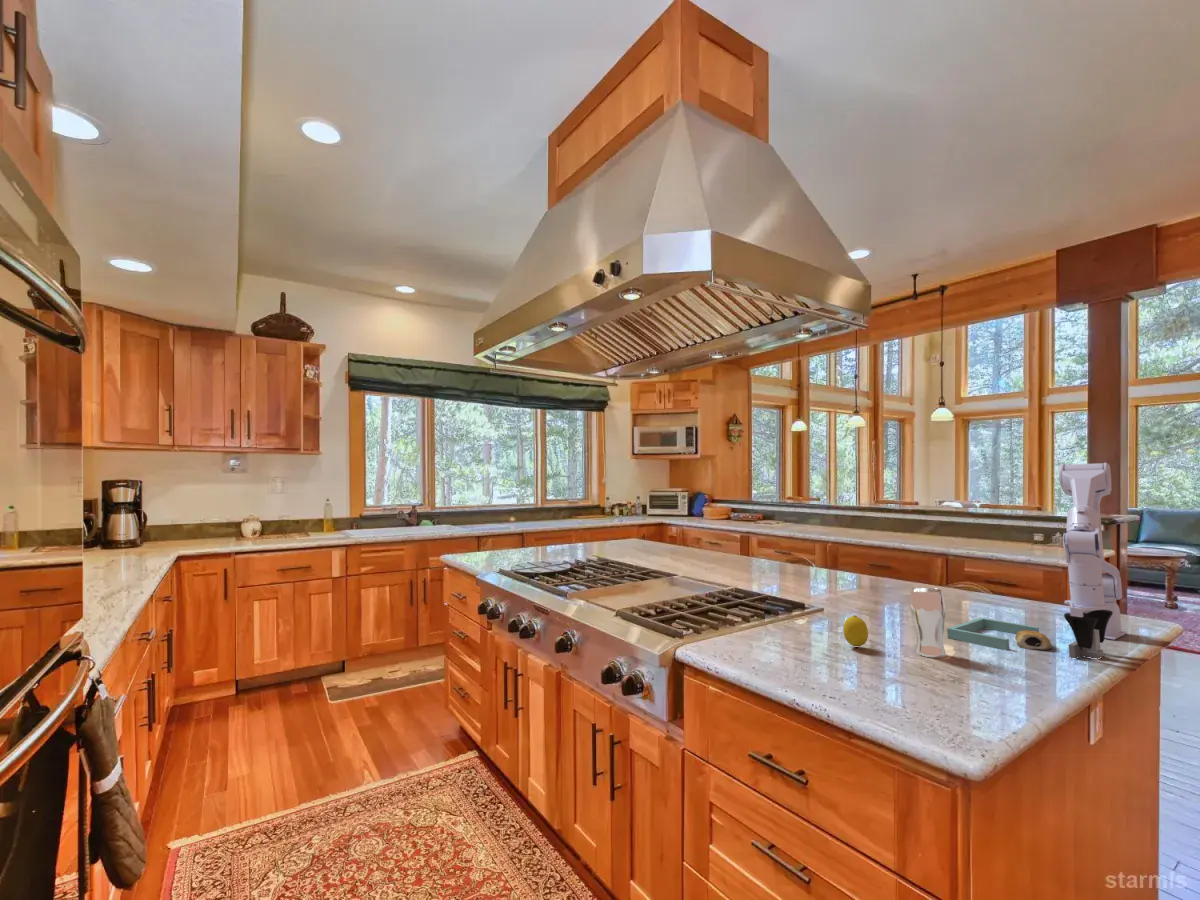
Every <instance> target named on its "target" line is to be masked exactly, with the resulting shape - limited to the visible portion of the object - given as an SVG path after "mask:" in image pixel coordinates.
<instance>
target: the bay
mask: <svg viewBox="0 0 1200 900" xmlns="http://www.w3.org/2000/svg"><path fill="white" fill-rule="evenodd" d="M982 628H983V629H987V628H988V629H987V630H992V629H993V630H994V631H999V632H1005V633H1010V634H1015V635H1016V634H1017V633H1018V632H1019V631H1024V630H1028V631H1036V632H1039V633H1040V627H1038V626H1033V625H1027V624H1022V623H1015V622H1009V621H1005V620H1003V621H1002V620H997V619H991V618H984V617H979V618H978V617H977V618H975V619H972V620H969V621H966V622H963V623H960V624H957V625H954V626H949V627H947V628H946V632H947V633H946V634H947V635H946V636H947V639H950V638H951V640H955V639H956V641H960V642H966V643H971V644H975V645H980V646H984V645H985V647H990V648H994V649H999V650H1004V651H1008V650H1010V639H1009V638H1006V637H1005V638H1004V637H999V636H996V635H990V634H984V633H979V632H977V631H980V630H983V629H982ZM979 629H980V630H979Z"/></svg>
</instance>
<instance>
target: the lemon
mask: <svg viewBox="0 0 1200 900" xmlns="http://www.w3.org/2000/svg"><path fill="white" fill-rule="evenodd" d="M842 631H843V636H844V639H845V641H846V642H847V643H848V644H849V645H851V646H853V647H854V646H859V647H861V646H863V645H865V644H866V642H867V641H868V638H869V631H868V627H867V623H866V622H865V620H864V619H862V618H861V617H858V616H857V615H856V614H853V615H852V616H850V617H848V618H846V620H845V621H844V623H843V629H842Z"/></svg>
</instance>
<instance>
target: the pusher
mask: <svg viewBox="0 0 1200 900" xmlns="http://www.w3.org/2000/svg"><path fill="white" fill-rule="evenodd" d="M1104 654H1105V653H1104V649H1101V643H1100V638H1099V630H1096V629H1094V632H1093V643H1092V647H1091V649H1088V648H1083V647H1079V646H1078V644H1077V641H1076V640H1075V641H1073V642H1071V643H1069V644H1068V655H1069V658H1070V657H1071V658H1070V659H1072V658H1077V657H1079V656H1085V657H1091V658H1097V659H1098V658H1100V657H1102V656H1103V655H1104ZM1104 656H1105V655H1104ZM1085 657H1084V658H1085ZM1079 658H1080V657H1079ZM1102 658H1103V657H1102ZM1077 659H1078V658H1077ZM1100 659H1101V658H1100ZM1098 660H1099V659H1098Z"/></svg>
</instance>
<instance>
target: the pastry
mask: <svg viewBox="0 0 1200 900" xmlns="http://www.w3.org/2000/svg"><path fill="white" fill-rule="evenodd" d="M1015 641H1016V645H1017V647H1018V648H1021V647H1023V648H1022V649H1027V648H1028V649H1029V650H1037V651H1038V650H1041V651H1047V650H1048V651H1049V650H1050V649H1051V647H1052V643H1051V641H1050V639H1049V638H1048V637H1047V636H1046V635H1045V634H1044V633H1040V631H1039V632H1036V631H1028V630H1024V631H1019V632H1018V633H1017V634H1015Z"/></svg>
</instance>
